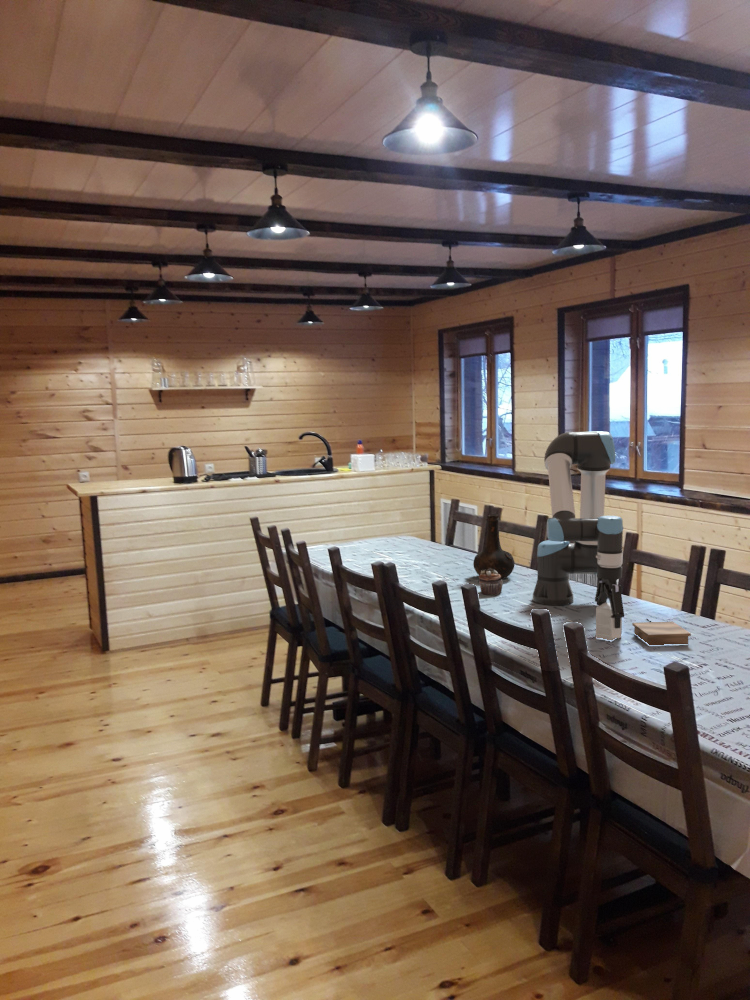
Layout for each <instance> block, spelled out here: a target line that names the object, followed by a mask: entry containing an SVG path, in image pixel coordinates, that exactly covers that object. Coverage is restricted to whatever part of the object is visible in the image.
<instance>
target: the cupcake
mask: <svg viewBox="0 0 750 1000" xmlns="http://www.w3.org/2000/svg"><path fill="white" fill-rule="evenodd" d="M478 578H479V579H478V582H479V588H480V593H481V594H482V595H484V596H498V594H499V595H501V594H502V589H503V585H504V579H500V578H501V575H500V574H498V572H497V571H495V569H493V570H492V568H489V569H482V571H481V574H480V575H478Z"/></svg>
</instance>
